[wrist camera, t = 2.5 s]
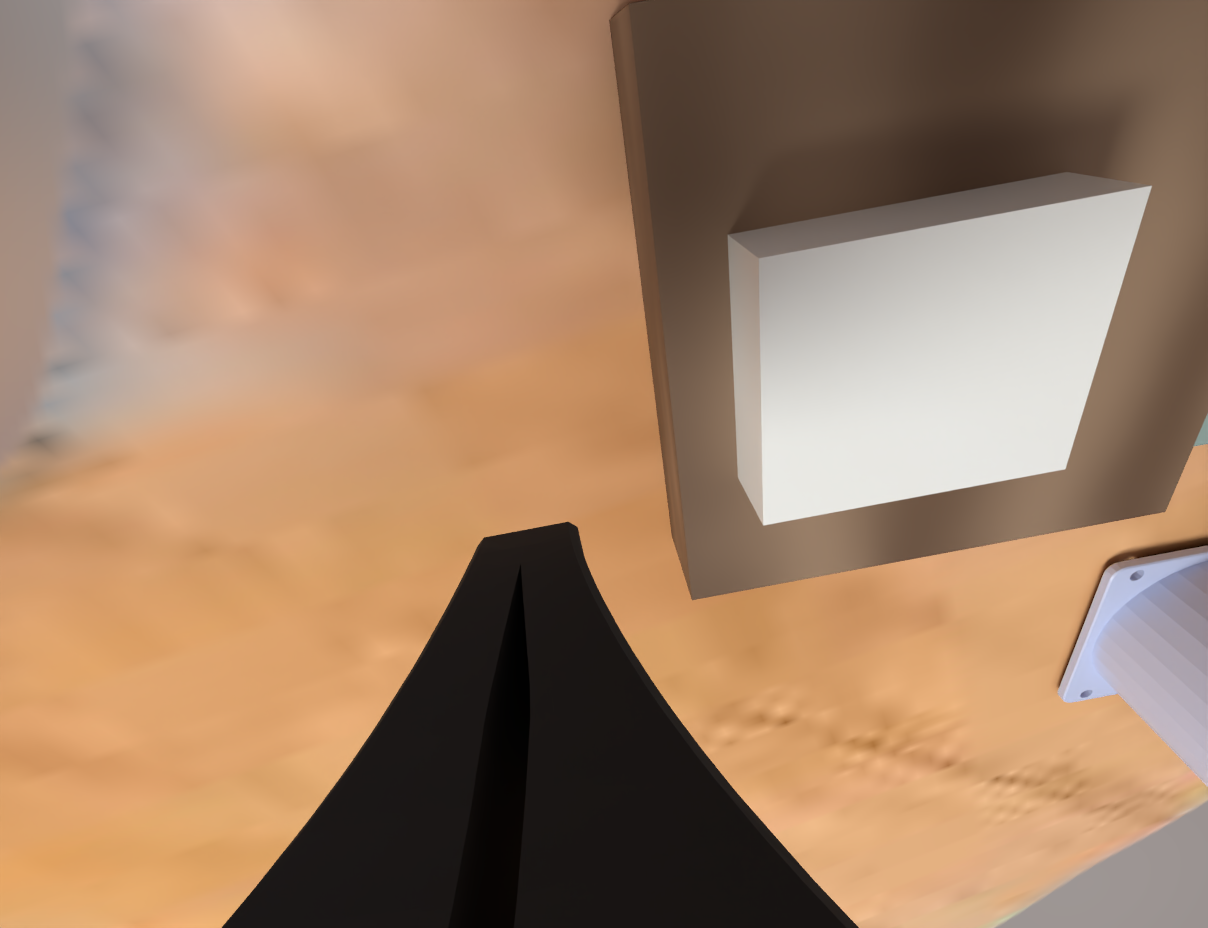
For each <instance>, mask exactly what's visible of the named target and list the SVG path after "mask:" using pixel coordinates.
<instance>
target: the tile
mask: <svg viewBox="0 0 1208 928" xmlns="http://www.w3.org/2000/svg"><path fill="white" fill-rule="evenodd" d="M1151 187H1152V186H1151V185H1145V184H1139V183H1132V182H1126V181H1120V180H1114V179H1108V178H1101V177H1095V176H1089V175H1083V174H1076V173H1070V172H1064V173H1059V174H1053V175H1048V176H1043V177H1037V178H1032V179H1026V180H1021V181H1015V182H1010V183H1005V184H999V185H994V186H988V187H983V188H978V189H972V190H967V191H961V192H956V193H951V194H945V195H940V196H934V197H929V198H923V199H918V200H913V201H907V202H902V203H896V204H891V205H886V206H880V207H875V208H869V209H864V210H859V211H853V212H848V213H842V214H837V215H832V216H826V217H821V218H815V219H810V220H804V221H799V222H794V223H788V224H783V225H777V226H772V227H767V228H761V229H756V230H750V231H745V232H740V233H734V234H729V235H728V257H729V280H730V303H731V327H732V350H733V373H734V396H735V420H736V443H737V466H738V479H739V481H740V482H741V484H742V486H743V488H744V490H745V492H746V494H747V496H748V498H749V500H750V501H751V503H752V505H753V507H754V509H755V511H756V513H757V515H758V517H759V519H760V520H761V522H762V524H763V526H764V525H769V524H774V523H780V522H785V521H790V520H796V519H801V518H807V517H812V516H817V515H823V514H828V513H833V512H839V511H844V510H849V509H855V508H860V507H866V506H871V505H876V504H882V503H887V502H892V501H898V500H903V499H909V498H914V497H919V496H925V495H930V494H935V493H941V492H946V491H951V490H957V489H962V488H968V487H973V486H978V485H984V484H989V483H994V482H1000V481H1005V480H1010V479H1016V478H1021V477H1027V476H1032V475H1037V474H1043V473H1048V472H1053V471H1059V470H1064V469H1066V466H1067V462H1068V459H1069V456H1070V452H1071V449H1072V446H1073V443H1074V439H1075V436H1076V433H1077V430H1078V426H1079V423H1080V420H1081V416H1082V413H1083V410H1084V407H1085V403H1086V400H1087V397H1088V394H1089V390H1090V387H1091V384H1092V380H1093V377H1094V374H1095V371H1096V367H1097V364H1098V361H1099V358H1100V354H1101V351H1102V348H1103V344H1104V341H1105V338H1106V335H1107V331H1108V328H1109V325H1110V321H1111V318H1112V315H1113V312H1114V308H1115V305H1116V302H1117V299H1118V295H1119V292H1120V289H1121V285H1122V282H1123V279H1124V276H1125V272H1126V269H1127V266H1128V263H1129V259H1130V256H1131V253H1132V249H1133V246H1134V243H1135V240H1136V236H1137V233H1138V230H1139V227H1140V223H1141V220H1142V217H1143V213H1144V210H1145V207H1146V204H1147V200H1148V197H1149V194H1150V191H1151Z"/></svg>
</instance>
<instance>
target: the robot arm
mask: <svg viewBox="0 0 1208 928" xmlns="http://www.w3.org/2000/svg"><path fill="white" fill-rule="evenodd" d="M1114 694H1119V695H1120V696H1121V697H1122V698H1123V700H1124V701H1125V702H1126V703H1127V704H1128V705H1129V706H1130V707H1131V708H1132V709H1133V710H1134V711H1135V712H1136V713H1137V714H1138V715H1139V716H1140V717H1141V718H1142V719H1143V720H1144V721H1145V722H1146V723H1147V724H1148V725H1149V726H1150V728H1151V729H1152V730H1153V731H1154V732H1155V733H1156V734H1157V735H1158V736H1159V737H1160V738H1161V739H1162V740H1163V741H1164V742H1165V743H1166V744H1167V745H1168V746H1169V747H1170V748H1171V749H1172V750H1173V751H1174V752H1175V753H1176V754H1177V756H1178V757H1179V758H1180V759H1181V760H1182V761H1183V762H1184V763H1185V764H1186V765H1187V766H1188V767H1189V768H1190V769H1191V770H1192V771H1193V772H1194V773H1195V774H1196V775H1197V776H1198V777H1199V778H1200V779H1201V780H1202V781H1203V782H1204V784H1205V785H1206V786H1207V787H1208V545H1206V546H1201V547H1196V548H1190V549H1185V550H1180V551H1174V552H1169V553H1164V554H1158V555H1153V556H1148V557H1142V558H1137V559H1131V560H1126V561H1121V562H1117V563H1114V564H1112V565H1110V566H1109V567H1108V568H1107V569H1106V570H1105V572H1104V573H1103V576H1102V579H1101V581H1100V584H1099V586H1098V589H1097V591H1096V594H1095V597H1094V599H1093V602H1092V604H1091V607H1090V609H1089V612H1088V615H1087V617H1086V620H1085V622H1084V625H1083V627H1082V630H1081V633H1080V635H1079V638H1078V640H1077V643H1076V645H1075V648H1074V651H1073V653H1072V656H1071V658H1070V661H1069V663H1068V666H1067V669H1066V671H1065V674H1064V676H1063V679H1062V681H1061V684H1060V687H1059V689H1058V695H1059V696H1060V697H1061V698H1062V699H1063V701H1064V702H1068V703H1069V702H1077V701H1082V700H1087V699H1093V698H1098V697H1103V696H1109V695H1114ZM222 928H859V927H858V926H857V925H856V924H855V923H854V922H853V921H852V920H851V919H850V918H849V917H848V916H847V915H846V914H845V913H844V912H843V911H842V910H841V908H840V907H839V906H838V905H837V904H836V903H835V902H834V901H833V900H832V899H831V898H830V897H829V896H828V895H827V894H826V893H825V892H824V891H823V890H822V888H821V887H820V886H819V885H818V884H817V883H816V882H815V881H814V880H813V879H812V878H811V877H810V875H809V874H808V873H807V872H806V871H805V870H804V869H803V868H802V866H801V865H800V864H799V863H798V862H797V861H796V860H795V858H794V857H793V856H792V855H791V854H790V853H789V852H788V851H787V849H786V848H785V847H784V846H783V845H782V844H781V843H780V841H779V840H778V839H777V838H776V837H775V836H774V835H773V833H772V832H771V831H770V830H769V829H768V828H767V827H766V826H765V824H764V823H763V822H762V821H761V820H760V819H759V818H758V816H757V815H756V814H755V813H754V812H753V811H752V810H751V809H750V807H749V806H748V805H747V804H746V803H745V802H744V801H743V799H742V798H741V797H740V796H739V795H738V794H737V792H736V791H735V790H734V789H733V788H732V786H731V785H730V784H729V783H728V781H727V780H726V779H725V778H724V776H723V775H722V774H721V773H720V771H719V770H718V769H717V768H716V766H715V765H714V764H713V763H712V761H711V760H710V759H709V758H708V756H707V755H706V754H705V753H704V751H703V750H702V749H701V748H700V746H699V745H698V744H697V742H696V741H695V740H694V738H693V737H692V736H691V734H690V733H689V732H688V730H687V729H686V728H685V726H684V725H683V724H682V723H681V721H680V720H679V719H678V717H677V716H676V714H675V713H674V712H673V710H672V709H671V707H670V706H669V705H668V703H667V702H666V701H665V699H664V698H663V696H662V695H661V693H660V692H659V690H658V689H657V687H656V686H655V685H654V683H653V682H652V680H651V679H650V677H649V676H648V674H647V672H646V671H645V669H644V668H643V666H642V665H641V663H640V662H639V660H638V659H637V657H636V656H635V654H634V652H633V651H632V649H631V648H630V646H629V644H628V643H627V641H626V639H625V638H624V636H623V634H622V633H621V631H620V629H619V627H618V625H617V624H616V622H615V620H614V618H613V616H612V615H611V613H610V611H609V609H608V607H607V606H606V604H605V602H604V600H603V598H602V596H601V594H600V592H599V590H598V588H597V586H596V584H595V582H594V579H593V577H592V575H591V572H590V570H589V568H588V566H587V563H586V560H585V558H584V554H583V549H582V545H581V541H580V536H579V532H578V527H576V526H575V525H573V524H571V523H569V522H565V523H560V524H554V525H549V526H544V527H538V528H533V529H528V530H522V531H517V532H512V533H506V534H501V535H496V536H490V537H485V538H483V540H482V541H481V542H480V544H479V545H478V547H477V549H476V551H475V553H474V555H473V557H472V559H471V561H470V563H469V565H468V567H467V569H466V572H465V574H464V576H463V578H462V580H461V581H460V583H459V585H458V587H457V589H456V591H455V593H454V595H453V597H452V599H451V601H450V603H449V605H448V606H447V608H446V610H445V612H444V614H443V616H442V618H441V619H440V621H439V623H438V625H437V626H436V628H435V630H434V632H433V634H432V635H431V637H430V639H429V641H428V642H427V644H426V646H425V648H424V649H423V651H422V653H421V655H420V657H419V658H418V660H417V662H416V663H415V665H414V667H413V668H412V670H411V672H410V673H409V675H408V677H407V678H406V680H405V681H404V683H403V684H402V686H401V688H400V689H399V691H398V692H397V694H396V696H395V697H394V699H393V700H392V702H391V703H390V705H389V707H388V708H387V710H386V711H385V713H384V714H383V716H382V718H381V719H380V721H379V722H378V724H377V726H376V727H375V729H374V730H373V732H372V733H371V735H370V736H369V737H368V739H367V740H366V742H365V743H364V745H363V746H362V748H361V749H360V751H359V752H358V754H357V755H356V756H355V758H354V759H353V761H352V762H351V764H350V765H349V766H348V768H347V769H346V771H345V772H344V773H343V775H342V776H341V778H340V779H339V780H338V782H337V783H336V784H335V786H334V787H333V788H332V790H331V791H330V793H329V794H328V795H327V797H326V798H325V799H324V801H323V802H322V803H321V805H320V806H319V807H318V809H317V810H316V811H315V813H314V814H313V815H312V817H311V818H310V819H309V821H308V822H307V823H306V825H305V826H304V827H303V828H302V830H301V831H300V832H299V833H298V835H297V836H296V837H295V838H294V840H293V841H292V842H291V843H290V845H289V846H288V847H287V848H286V850H285V851H284V852H283V853H282V855H281V856H280V857H279V858H278V860H277V861H276V862H275V863H274V865H273V866H272V867H271V869H270V870H269V871H268V872H267V874H266V875H265V876H264V877H263V879H262V880H261V881H260V882H259V884H258V885H257V886H256V887H255V889H254V890H253V891H252V892H251V893H250V895H249V896H248V897H247V898H246V899H245V901H244V902H243V903H242V904H241V905H240V907H239V908H238V909H237V910H236V911H235V913H234V914H233V915H232V916H231V917H230V918H229V920H228V921H227V922H226V923H225V924H224V925H223V927H222Z"/></svg>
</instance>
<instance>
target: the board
mask: <svg viewBox="0 0 1208 928" xmlns="http://www.w3.org/2000/svg"><path fill="white" fill-rule="evenodd" d="M609 21H610V29H611V38H612V46H613V54H614V62H615V71H616V79H617V87H618V95H619V104H620V112H621V120H622V128H623V136H624V145H625V153H626V161H627V169H628V178H629V186H630V194H631V202H632V211H633V219H634V227H635V235H636V244H637V252H638V260H639V268H640V277H641V285H642V293H643V301H644V310H645V318H646V326H647V334H648V343H649V351H650V359H651V367H652V376H653V384H654V392H655V400H656V409H657V417H658V425H659V433H660V441H661V450H662V458H663V466H664V474H665V483H666V491H667V499H668V507H669V516H670V524H671V532H672V537H673V541H674V544H675V547H676V550H677V553H678V557H679V560H680V563H681V566H682V570H683V573H684V576H685V579H686V582H687V586H688V589H689V592H690V595H691V598H692V600H695V599H701V598H706V597H711V596H717V595H722V594H728V593H733V592H738V591H744V590H749V589H754V588H760V587H765V586H770V585H776V584H781V583H786V582H792V581H797V580H803V579H808V578H813V577H819V576H824V575H829V574H835V573H840V572H845V571H851V570H856V569H861V568H867V567H872V566H878V565H883V564H888V563H894V562H899V561H904V560H910V559H915V558H920V557H926V556H931V555H936V554H942V553H947V552H953V551H958V550H963V549H969V548H974V547H979V546H985V545H990V544H995V543H1001V542H1006V541H1011V540H1017V539H1022V538H1028V537H1033V536H1038V535H1044V534H1049V533H1054V532H1060V531H1065V530H1070V529H1076V528H1081V527H1086V526H1092V525H1097V524H1103V523H1108V522H1113V521H1119V520H1124V519H1129V518H1135V517H1140V516H1145V515H1151V514H1156V513H1161V512H1165V511H1166V509H1167V506H1168V504H1169V502H1170V500H1171V497H1172V495H1173V493H1174V490H1175V488H1176V486H1177V483H1178V481H1179V479H1180V476H1181V474H1182V472H1183V469H1184V467H1185V465H1186V462H1187V460H1188V458H1189V455H1190V453H1191V451H1192V448H1193V446H1194V444H1195V442H1196V439H1197V437H1198V435H1199V432H1200V430H1201V428H1202V425H1203V423H1204V421H1205V418H1206V416H1207V414H1208V0H647V1H641V2H636V3H630V4H628V5H627V6H626V7H624V8H623V9H622V10H621V11H620V12H618V13H617V14H616V15H615V16H614V17H613V18H611V19H610V20H609ZM1064 172H1070V173H1076V174H1083V175H1089V176H1095V177H1101V178H1108V179H1114V180H1120V181H1126V182H1132V183H1139V184H1145V185H1151V186H1152V187H1151V191H1150V194H1149V197H1148V200H1147V204H1146V207H1145V210H1144V213H1143V217H1142V220H1141V223H1140V227H1139V230H1138V233H1137V236H1136V240H1135V243H1134V246H1133V249H1132V253H1131V256H1130V259H1129V263H1128V266H1127V269H1126V272H1125V276H1124V279H1123V282H1122V285H1121V289H1120V292H1119V295H1118V299H1117V302H1116V305H1115V308H1114V312H1113V315H1112V318H1111V321H1110V325H1109V328H1108V331H1107V335H1106V338H1105V341H1104V344H1103V348H1102V351H1101V354H1100V358H1099V361H1098V364H1097V367H1096V371H1095V374H1094V377H1093V380H1092V384H1091V387H1090V390H1089V394H1088V397H1087V400H1086V403H1085V407H1084V410H1083V413H1082V416H1081V420H1080V423H1079V426H1078V430H1077V433H1076V436H1075V439H1074V443H1073V446H1072V449H1071V452H1070V456H1069V459H1068V462H1067V466H1066V469H1064V470H1059V471H1053V472H1048V473H1043V474H1037V475H1032V476H1027V477H1021V478H1016V479H1010V480H1005V481H1000V482H994V483H989V484H984V485H978V486H973V487H968V488H962V489H957V490H951V491H946V492H941V493H935V494H930V495H925V496H919V497H914V498H909V499H903V500H898V501H892V502H887V503H882V504H876V505H871V506H866V507H860V508H855V509H849V510H844V511H839V512H833V513H828V514H823V515H817V516H812V517H807V518H801V519H796V520H790V521H785V522H780V523H774V524H769V525H764V526H763V524H762V522H761V520H760V519H759V517H758V515H757V513H756V511H755V509H754V507H753V505H752V503H751V501H750V500H749V498H748V496H747V494H746V492H745V490H744V488H743V486H742V484H741V482H740V481H739V479H738V466H737V443H736V420H735V396H734V373H733V350H732V327H731V303H730V280H729V257H728V235H729V234H734V233H740V232H745V231H750V230H756V229H761V228H767V227H772V226H777V225H783V224H788V223H794V222H799V221H804V220H810V219H815V218H821V217H826V216H832V215H837V214H842V213H848V212H853V211H859V210H864V209H869V208H875V207H880V206H886V205H891V204H896V203H902V202H907V201H913V200H918V199H923V198H929V197H934V196H940V195H945V194H951V193H956V192H961V191H967V190H972V189H978V188H983V187H988V186H994V185H999V184H1005V183H1010V182H1015V181H1021V180H1026V179H1032V178H1037V177H1043V176H1048V175H1053V174H1059V173H1064Z"/></svg>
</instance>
